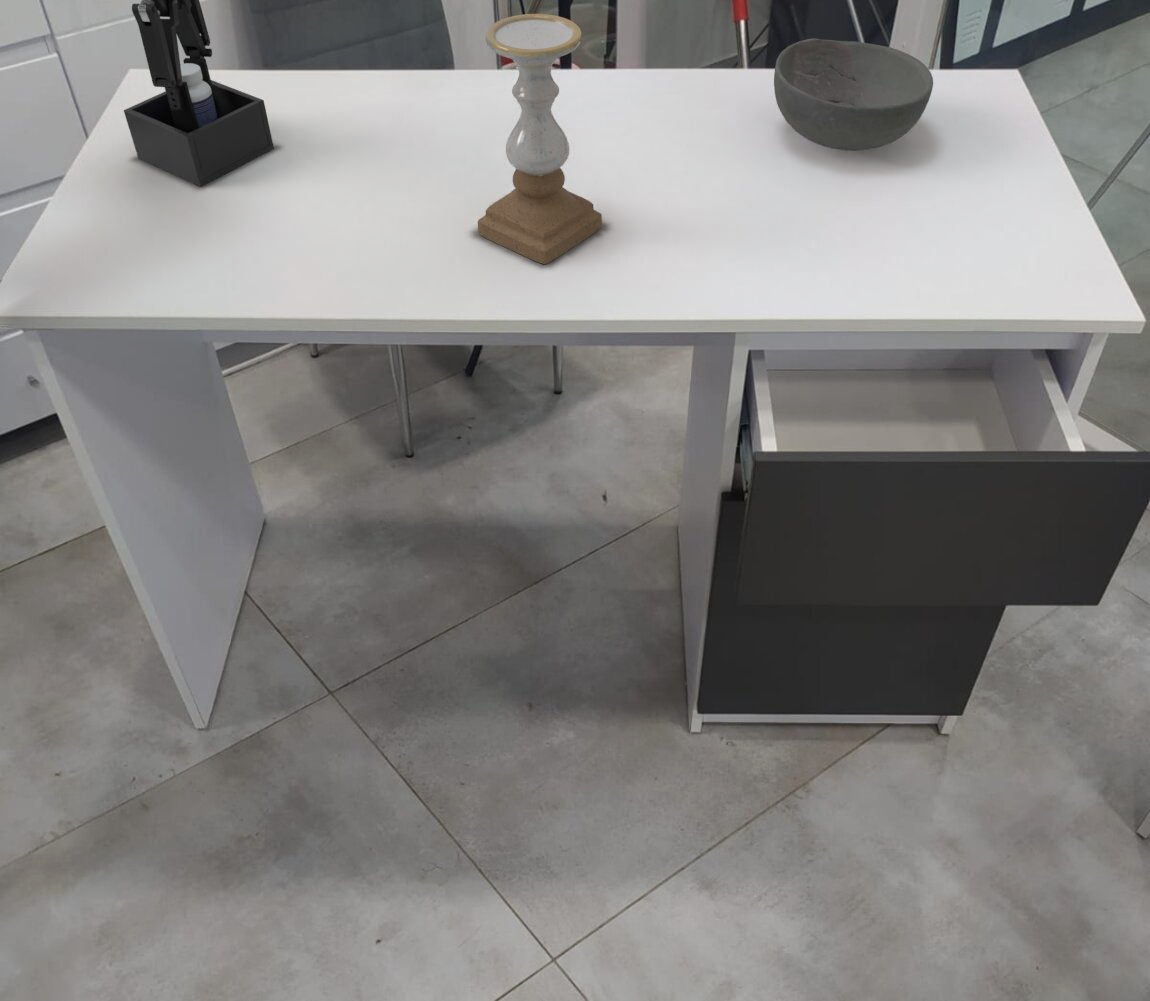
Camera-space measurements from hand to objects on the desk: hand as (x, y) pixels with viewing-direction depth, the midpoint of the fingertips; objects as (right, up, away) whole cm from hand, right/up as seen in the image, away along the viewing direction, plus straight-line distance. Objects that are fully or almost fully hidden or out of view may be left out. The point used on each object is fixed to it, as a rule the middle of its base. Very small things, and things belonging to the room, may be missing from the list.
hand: (197, 119), depth 145 cm
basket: (0, -3, +3) cm, 5 cm away
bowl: (+85, -1, +5) cm, 86 cm away
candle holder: (+45, -17, -11) cm, 50 cm away
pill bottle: (0, -2, +2) cm, 3 cm away
